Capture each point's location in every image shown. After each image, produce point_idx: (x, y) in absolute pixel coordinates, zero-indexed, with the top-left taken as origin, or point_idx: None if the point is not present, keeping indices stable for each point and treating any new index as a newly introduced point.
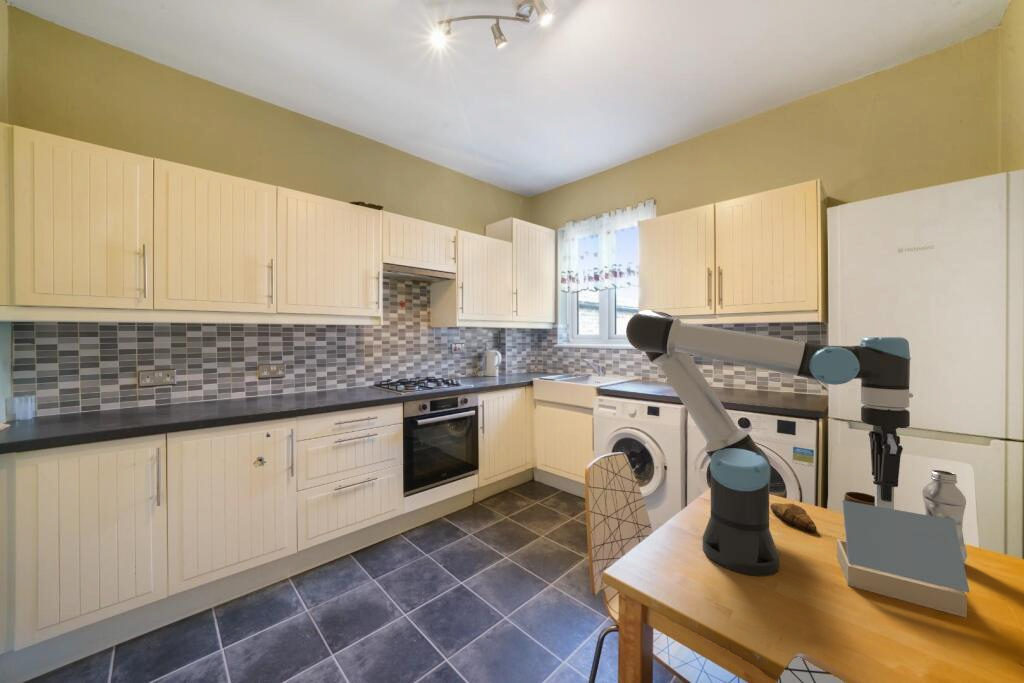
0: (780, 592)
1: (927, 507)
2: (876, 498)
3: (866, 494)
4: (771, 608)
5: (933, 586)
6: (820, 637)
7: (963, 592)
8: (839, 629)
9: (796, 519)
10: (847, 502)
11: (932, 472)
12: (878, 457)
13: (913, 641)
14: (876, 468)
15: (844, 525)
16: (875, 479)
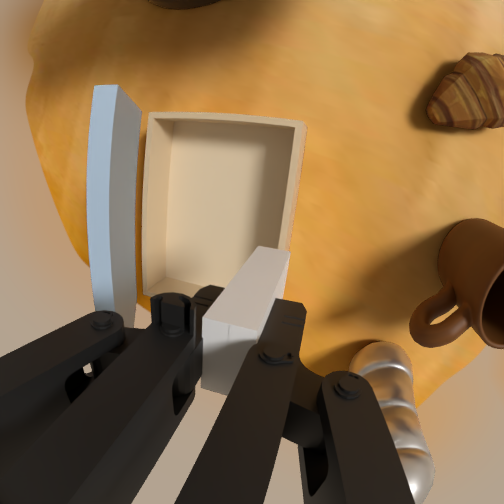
0: (111, 23)
1: (393, 428)
2: (242, 272)
3: None
4: (78, 24)
5: (144, 254)
6: (50, 75)
7: (152, 296)
8: (65, 93)
9: (450, 77)
10: (94, 102)
11: None
12: (32, 494)
13: (76, 173)
14: (214, 428)
15: (486, 220)
16: (262, 348)
